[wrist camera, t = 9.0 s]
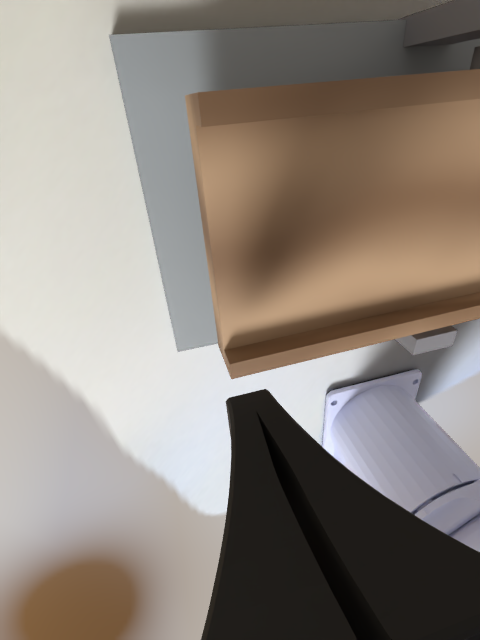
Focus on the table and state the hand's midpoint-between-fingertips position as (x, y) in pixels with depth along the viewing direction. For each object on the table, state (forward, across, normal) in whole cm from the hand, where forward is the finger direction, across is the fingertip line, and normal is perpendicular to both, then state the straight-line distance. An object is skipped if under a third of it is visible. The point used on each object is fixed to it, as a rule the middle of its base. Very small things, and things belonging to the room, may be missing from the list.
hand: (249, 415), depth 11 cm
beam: (+5, -11, -4) cm, 13 cm away
